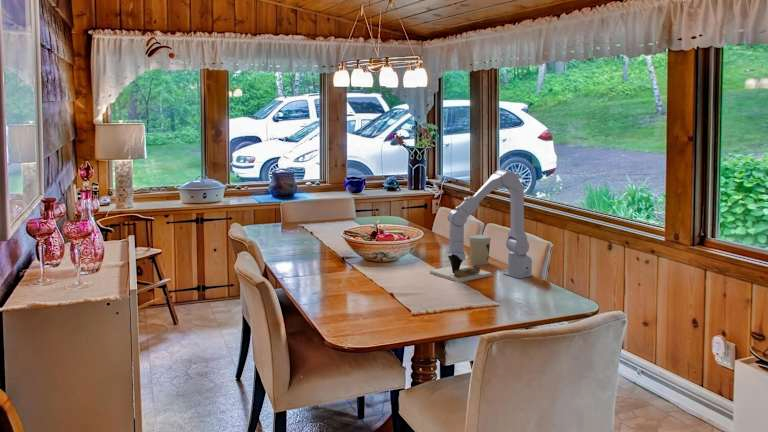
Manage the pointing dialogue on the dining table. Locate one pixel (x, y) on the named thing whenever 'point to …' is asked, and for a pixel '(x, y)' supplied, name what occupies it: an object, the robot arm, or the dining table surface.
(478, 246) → the coffee cup
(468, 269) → the bar
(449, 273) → the latch board
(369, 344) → the dining table surface
